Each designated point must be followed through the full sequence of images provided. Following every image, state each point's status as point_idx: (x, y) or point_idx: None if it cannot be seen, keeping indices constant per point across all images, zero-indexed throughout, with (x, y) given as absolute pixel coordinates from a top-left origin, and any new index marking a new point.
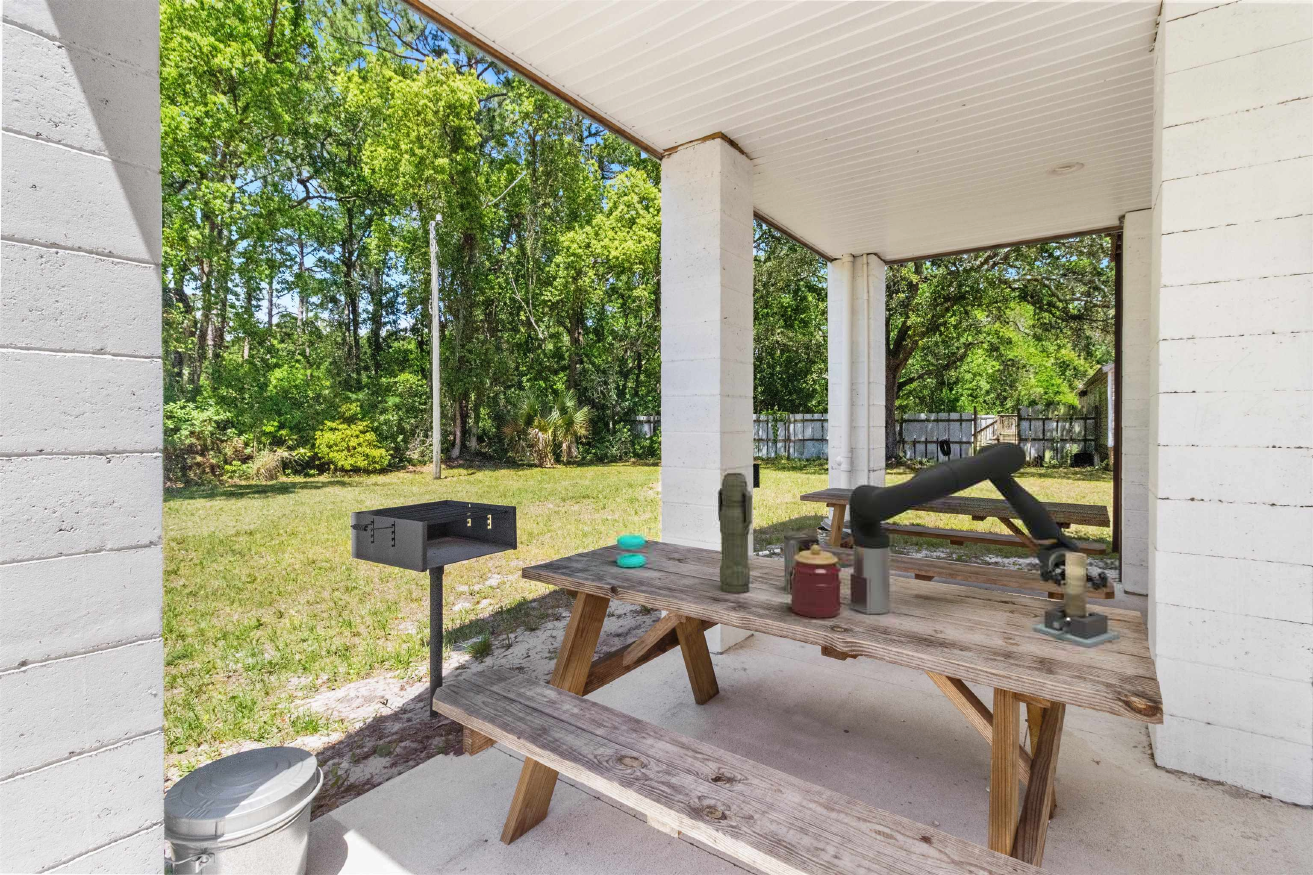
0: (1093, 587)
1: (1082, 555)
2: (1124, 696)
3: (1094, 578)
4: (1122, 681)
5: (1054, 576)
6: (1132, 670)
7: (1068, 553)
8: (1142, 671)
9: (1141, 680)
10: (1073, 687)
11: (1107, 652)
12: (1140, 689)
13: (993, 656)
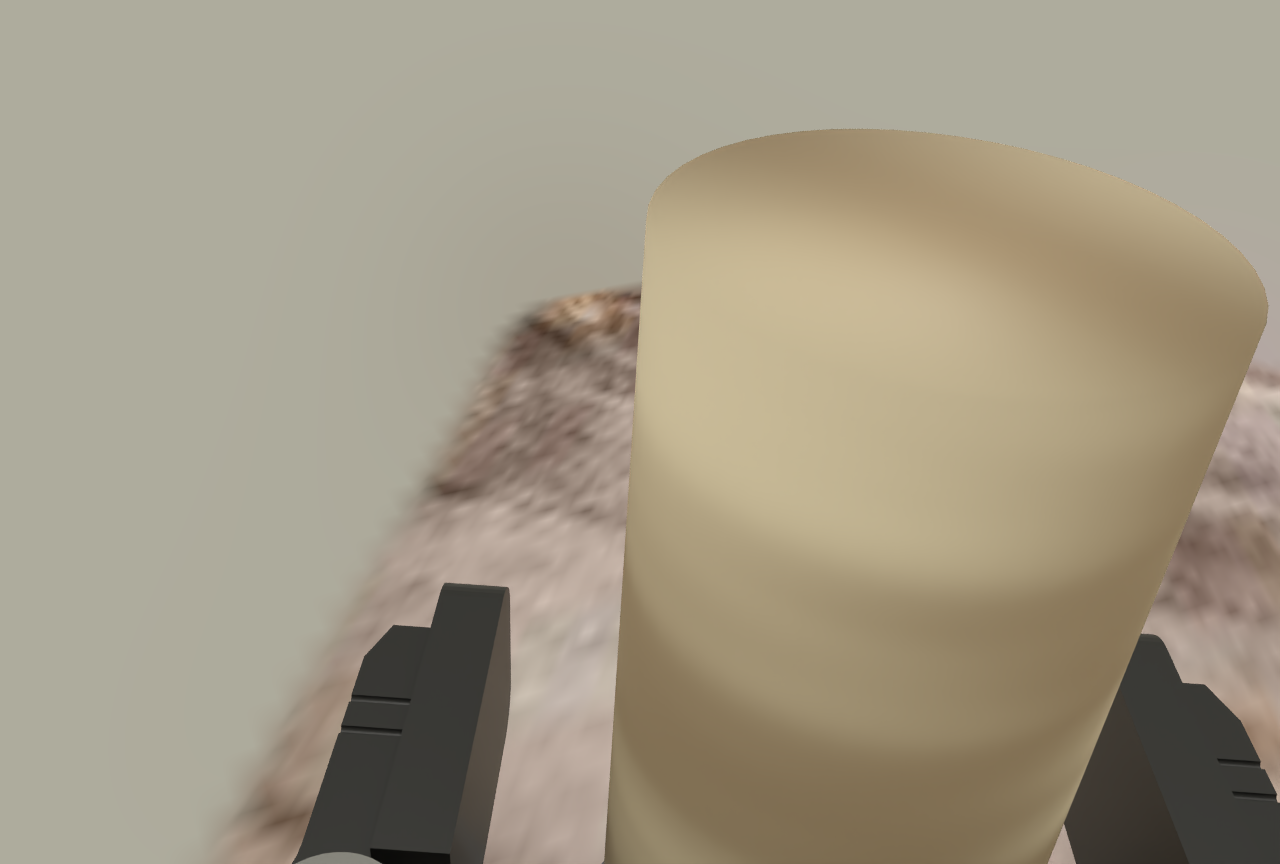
0: (493, 786)
1: (770, 173)
2: (622, 318)
3: (425, 775)
4: (578, 421)
5: (1264, 837)
6: (456, 548)
7: (1165, 257)
8: (397, 551)
9: (468, 451)
10: None
11: (502, 808)
12: (522, 376)
13: (1247, 510)
